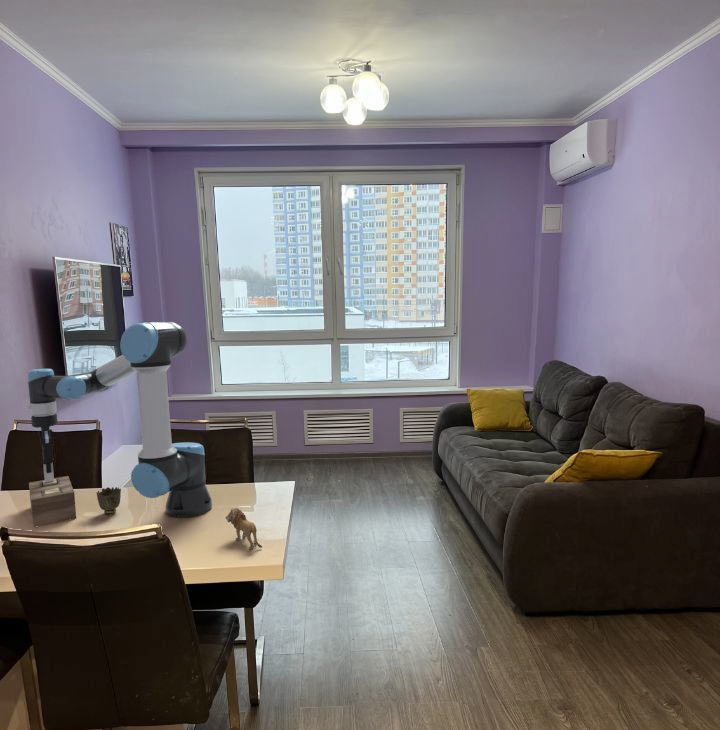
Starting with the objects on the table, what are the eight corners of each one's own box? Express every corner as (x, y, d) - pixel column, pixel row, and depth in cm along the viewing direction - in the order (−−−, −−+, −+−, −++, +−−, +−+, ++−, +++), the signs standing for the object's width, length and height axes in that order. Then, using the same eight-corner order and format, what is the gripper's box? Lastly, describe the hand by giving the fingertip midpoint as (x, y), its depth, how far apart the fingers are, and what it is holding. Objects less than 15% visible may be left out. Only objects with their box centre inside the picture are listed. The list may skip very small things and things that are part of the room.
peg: (58, 504, 179) (56, 482, 178) (45, 506, 177) (43, 484, 176) (57, 500, 182) (55, 478, 182) (44, 503, 180) (42, 481, 179)
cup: (110, 519, 170) (108, 495, 169) (93, 516, 173) (91, 493, 172) (127, 510, 177) (125, 488, 176) (110, 507, 180) (108, 485, 179)
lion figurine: (224, 537, 156) (222, 509, 155) (238, 531, 160) (237, 504, 159) (255, 552, 146) (253, 522, 145) (269, 545, 150) (268, 516, 149)
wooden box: (76, 518, 171) (74, 491, 170) (33, 527, 164) (31, 499, 163) (70, 499, 187) (68, 475, 186) (31, 507, 181) (28, 481, 180)
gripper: (30, 412, 179) (35, 477, 182) (31, 419, 168) (37, 488, 171) (55, 409, 183) (60, 473, 186) (58, 416, 173) (63, 484, 176)
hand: (49, 480), depth 179 cm, fingers closed
